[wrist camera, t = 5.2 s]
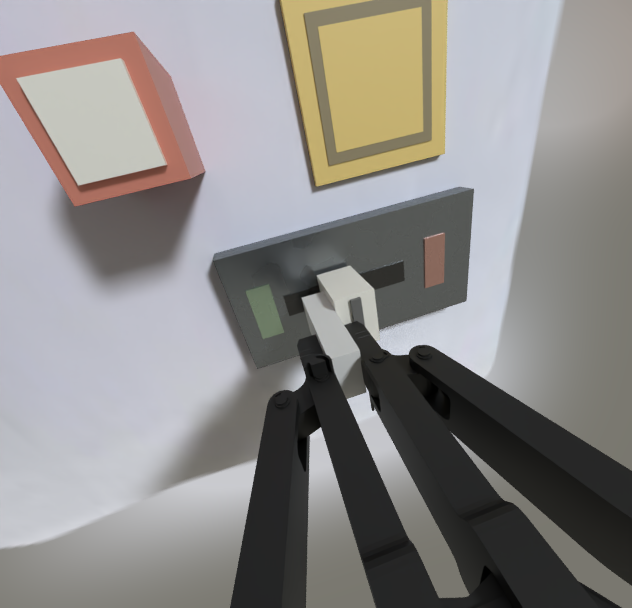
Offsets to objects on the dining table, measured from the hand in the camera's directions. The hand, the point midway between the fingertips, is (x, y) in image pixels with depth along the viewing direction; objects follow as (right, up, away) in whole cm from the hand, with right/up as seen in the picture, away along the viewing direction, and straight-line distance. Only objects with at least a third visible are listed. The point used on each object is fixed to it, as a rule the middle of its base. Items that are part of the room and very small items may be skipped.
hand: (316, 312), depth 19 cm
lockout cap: (-9, +10, -4) cm, 14 cm away
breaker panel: (+3, +3, +3) cm, 5 cm away
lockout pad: (+3, +13, -2) cm, 14 cm away
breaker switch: (+2, +1, +1) cm, 2 cm away
